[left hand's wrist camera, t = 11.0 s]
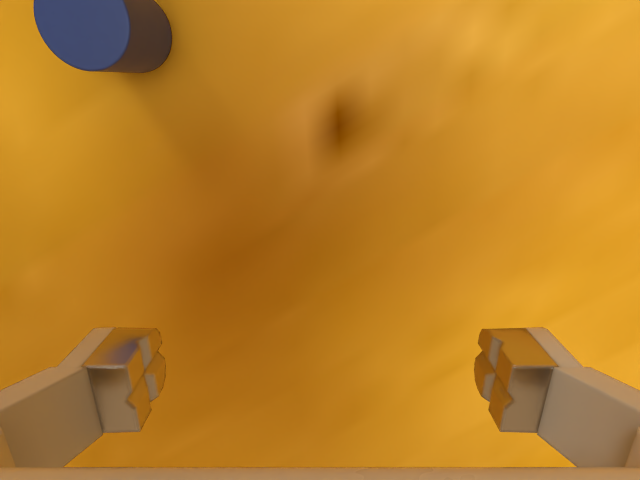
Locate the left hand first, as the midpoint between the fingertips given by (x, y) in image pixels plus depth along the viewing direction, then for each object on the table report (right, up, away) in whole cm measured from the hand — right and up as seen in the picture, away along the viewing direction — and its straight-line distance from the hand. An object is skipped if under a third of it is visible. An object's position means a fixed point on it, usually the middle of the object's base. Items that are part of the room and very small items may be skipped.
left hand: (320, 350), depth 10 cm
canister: (-9, +13, +9) cm, 18 cm away
